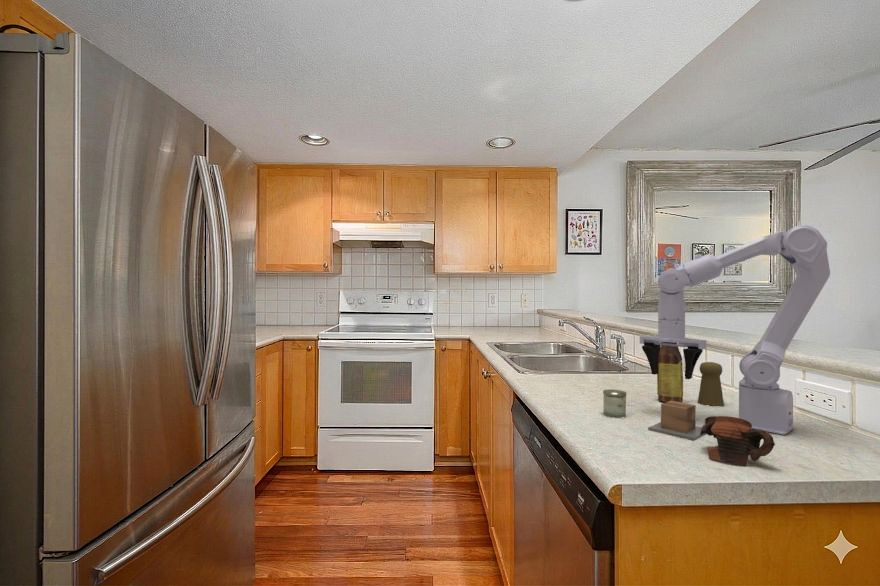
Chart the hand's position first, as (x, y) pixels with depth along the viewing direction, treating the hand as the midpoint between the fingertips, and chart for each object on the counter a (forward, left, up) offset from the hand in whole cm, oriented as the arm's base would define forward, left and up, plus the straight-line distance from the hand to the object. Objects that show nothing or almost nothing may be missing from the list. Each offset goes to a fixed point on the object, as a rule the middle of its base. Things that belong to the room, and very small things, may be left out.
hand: (671, 376), depth 105 cm
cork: (-2, -20, -10) cm, 22 cm away
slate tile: (-6, +11, -9) cm, 16 cm away
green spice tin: (+9, +10, -10) cm, 16 cm away
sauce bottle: (+6, -14, -10) cm, 18 cm away
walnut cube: (-6, +11, -9) cm, 15 cm away
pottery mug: (-19, +20, -10) cm, 29 cm away
